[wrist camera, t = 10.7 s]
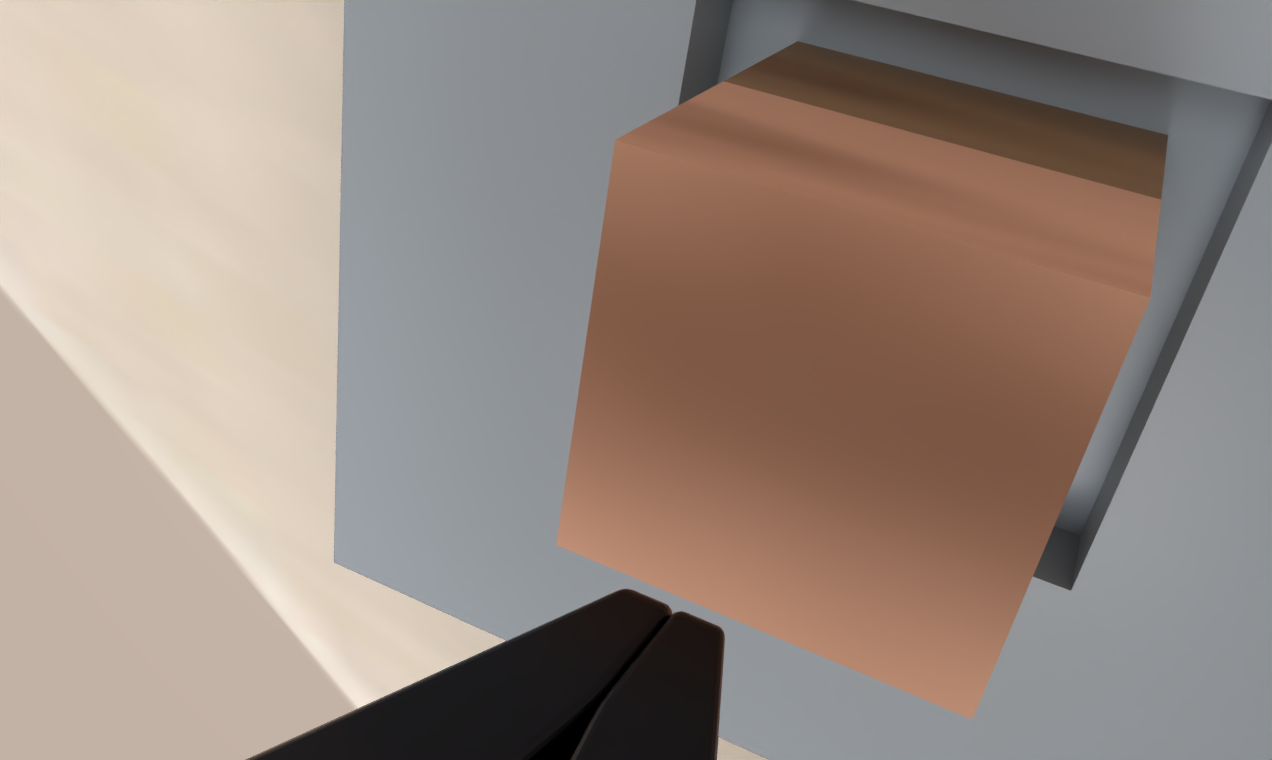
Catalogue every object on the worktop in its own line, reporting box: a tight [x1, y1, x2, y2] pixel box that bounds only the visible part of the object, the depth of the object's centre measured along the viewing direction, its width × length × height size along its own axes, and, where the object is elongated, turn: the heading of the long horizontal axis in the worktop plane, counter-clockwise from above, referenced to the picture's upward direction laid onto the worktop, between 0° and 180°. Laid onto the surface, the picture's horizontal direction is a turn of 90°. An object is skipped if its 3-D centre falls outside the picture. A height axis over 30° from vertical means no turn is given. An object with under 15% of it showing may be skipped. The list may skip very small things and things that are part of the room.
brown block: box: [556, 41, 1168, 719], centre depth 14 cm, size 5×5×6 cm
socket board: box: [334, 0, 1272, 760], centre depth 16 cm, size 18×18×2 cm
